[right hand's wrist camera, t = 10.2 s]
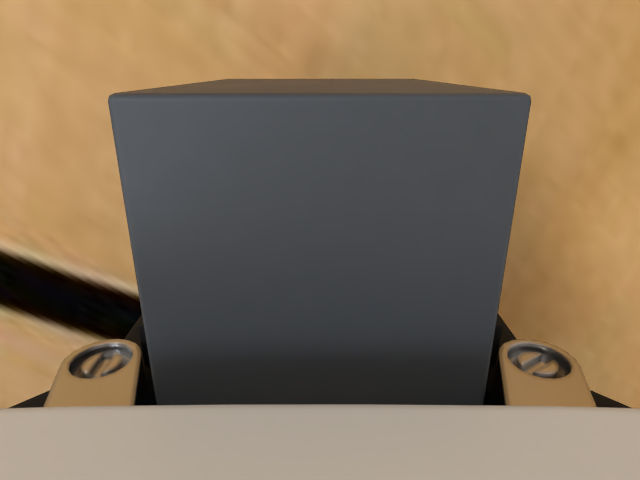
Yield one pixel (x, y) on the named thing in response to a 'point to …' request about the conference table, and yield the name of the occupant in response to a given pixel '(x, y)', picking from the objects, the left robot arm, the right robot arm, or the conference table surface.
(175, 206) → the bar
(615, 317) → the conference table surface
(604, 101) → the conference table surface
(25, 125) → the conference table surface
